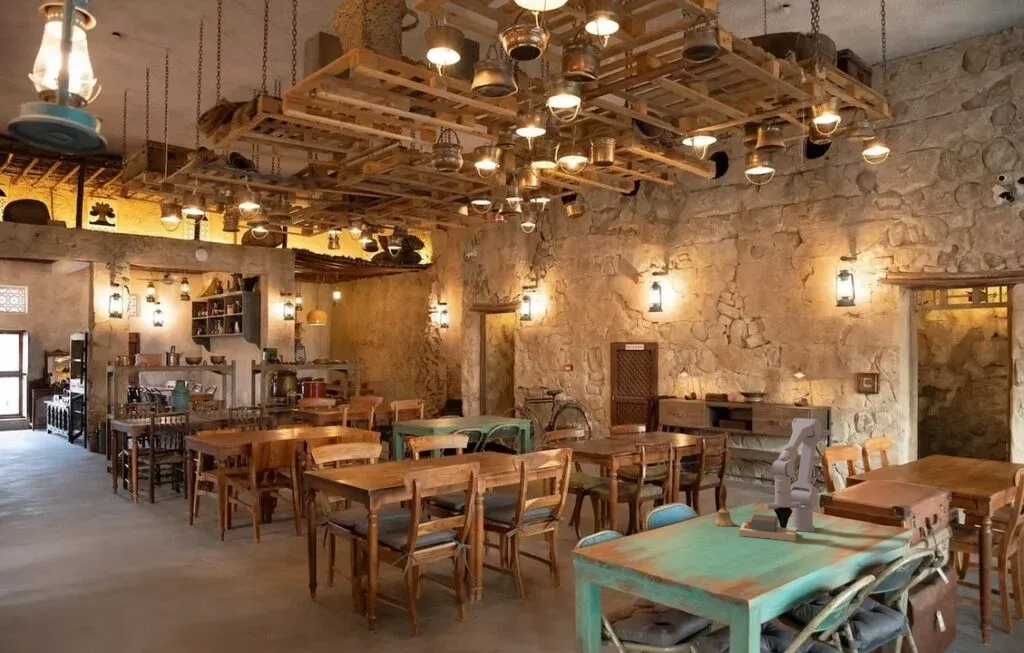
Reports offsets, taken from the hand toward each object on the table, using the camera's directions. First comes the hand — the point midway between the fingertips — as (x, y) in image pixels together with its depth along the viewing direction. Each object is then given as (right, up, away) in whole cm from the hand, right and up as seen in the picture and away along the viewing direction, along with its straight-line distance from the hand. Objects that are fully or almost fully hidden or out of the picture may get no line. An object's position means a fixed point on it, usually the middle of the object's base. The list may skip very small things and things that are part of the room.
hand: (783, 527), depth 278 cm
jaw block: (-10, -4, +5) cm, 12 cm away
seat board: (-5, -4, +2) cm, 7 cm away
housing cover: (-6, -1, +3) cm, 7 cm away
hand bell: (-17, -4, +20) cm, 26 cm away
